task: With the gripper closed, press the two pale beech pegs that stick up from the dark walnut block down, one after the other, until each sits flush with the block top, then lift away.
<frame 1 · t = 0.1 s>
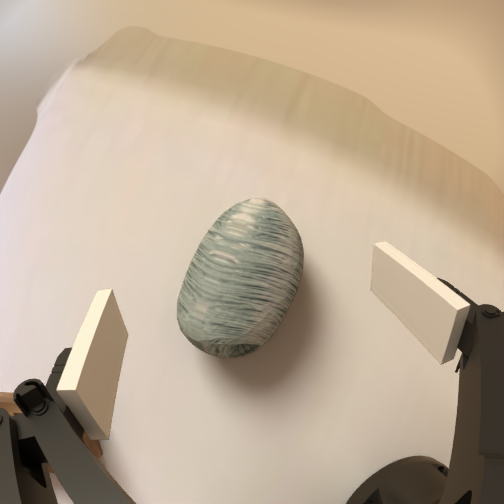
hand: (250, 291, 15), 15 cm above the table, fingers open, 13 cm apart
grey green ridged egg: (239, 284, 31), on the table
walnut block: (32, 422, 25), on the table
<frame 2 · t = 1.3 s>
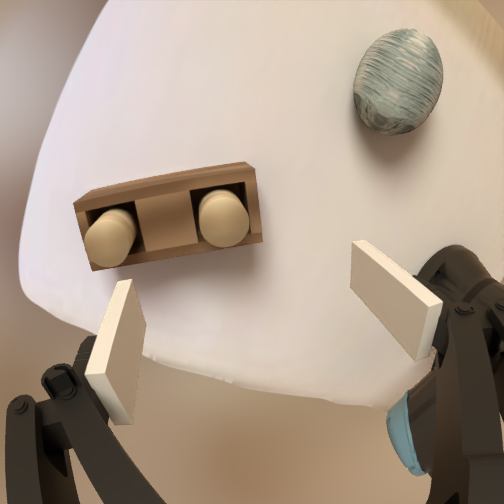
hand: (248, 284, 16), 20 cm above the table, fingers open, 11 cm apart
grey green ridged egg: (379, 82, 32), on the table
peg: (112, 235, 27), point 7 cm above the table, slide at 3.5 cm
walnut block: (170, 205, 34), on the table
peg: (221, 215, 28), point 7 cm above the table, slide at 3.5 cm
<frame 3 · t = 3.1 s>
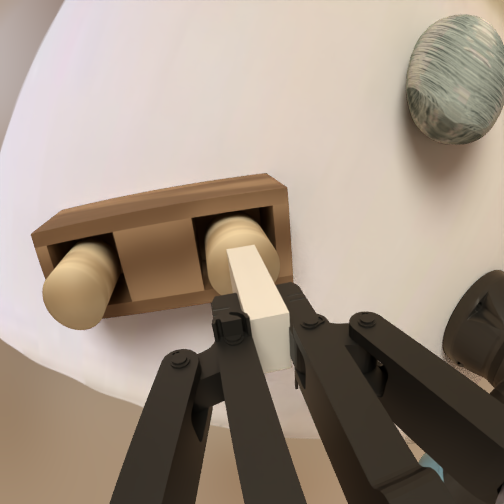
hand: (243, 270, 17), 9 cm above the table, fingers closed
grey green ridged egg: (431, 77, 24), on the table
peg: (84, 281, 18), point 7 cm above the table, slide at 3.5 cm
walnut block: (166, 231, 25), on the table
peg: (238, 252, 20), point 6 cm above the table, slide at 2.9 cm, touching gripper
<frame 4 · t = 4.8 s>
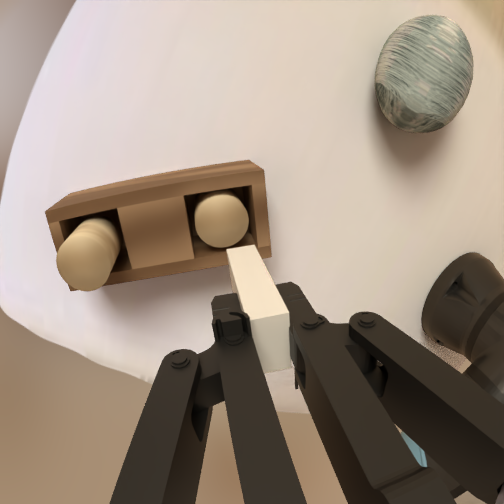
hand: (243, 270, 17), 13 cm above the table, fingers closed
grey green ridged egg: (401, 73, 27), on the table
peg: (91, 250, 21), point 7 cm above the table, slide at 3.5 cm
walnut block: (161, 211, 28), on the table
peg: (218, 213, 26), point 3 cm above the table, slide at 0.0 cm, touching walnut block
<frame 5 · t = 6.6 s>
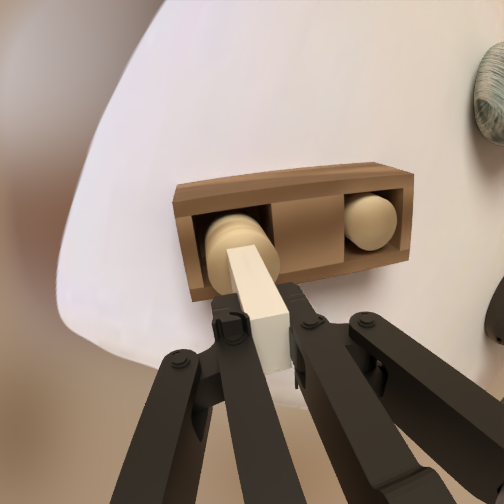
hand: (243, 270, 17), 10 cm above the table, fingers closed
grey green ridged egg: (486, 89, 25), on the table
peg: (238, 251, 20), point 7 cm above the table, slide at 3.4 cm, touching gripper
walnut block: (286, 211, 27), on the table
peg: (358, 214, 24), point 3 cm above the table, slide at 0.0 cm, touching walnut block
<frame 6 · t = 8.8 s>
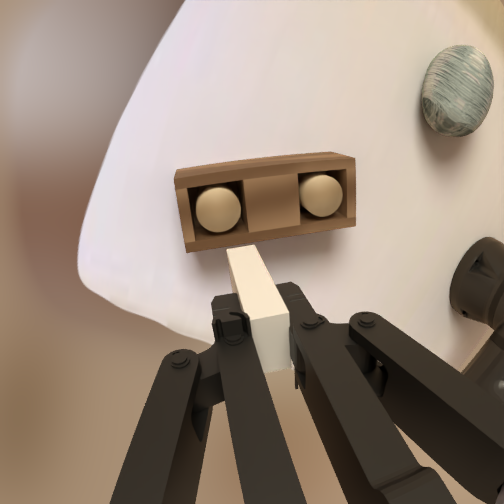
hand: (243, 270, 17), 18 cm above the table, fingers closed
grey green ridged egg: (437, 89, 33), on the table
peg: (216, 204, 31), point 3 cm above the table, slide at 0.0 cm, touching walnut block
walnut block: (259, 189, 35), on the table
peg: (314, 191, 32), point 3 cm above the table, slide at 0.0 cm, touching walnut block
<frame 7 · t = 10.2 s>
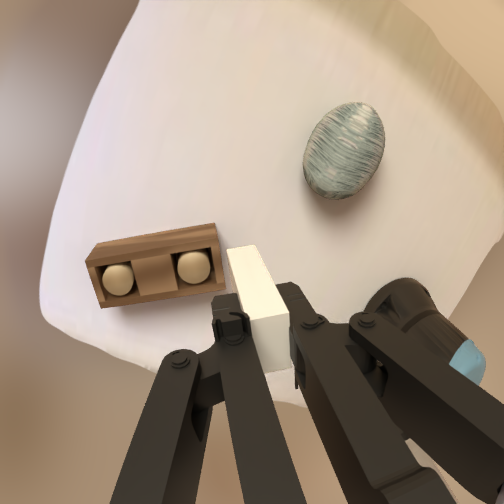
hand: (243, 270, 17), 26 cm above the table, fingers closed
grey green ridged egg: (331, 147, 42), on the table
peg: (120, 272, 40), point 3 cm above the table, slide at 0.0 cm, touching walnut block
walnut block: (158, 256, 44), on the table
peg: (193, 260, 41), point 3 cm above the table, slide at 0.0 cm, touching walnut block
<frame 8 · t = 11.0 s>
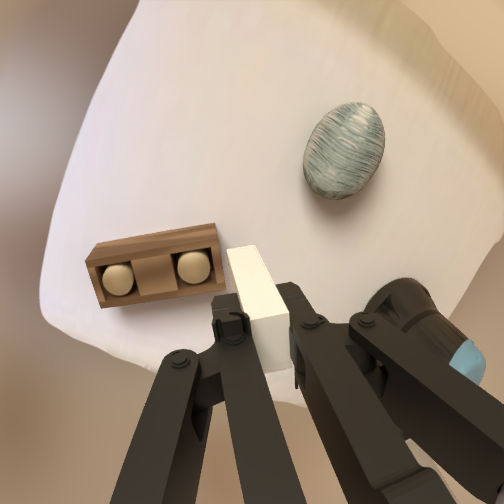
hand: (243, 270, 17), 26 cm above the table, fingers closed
grey green ridged egg: (331, 147, 42), on the table
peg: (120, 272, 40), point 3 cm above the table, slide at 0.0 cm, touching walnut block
walnut block: (158, 256, 44), on the table
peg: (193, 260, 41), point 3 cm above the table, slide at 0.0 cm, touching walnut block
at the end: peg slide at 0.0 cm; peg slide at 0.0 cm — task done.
